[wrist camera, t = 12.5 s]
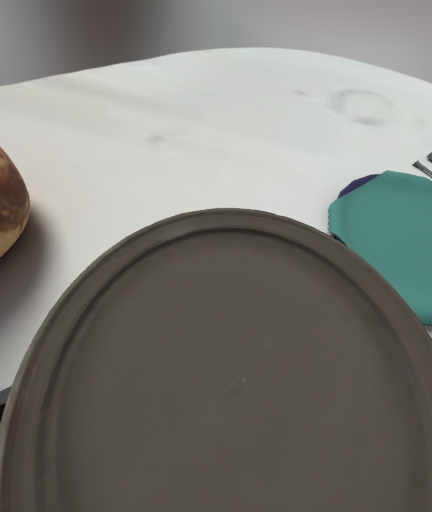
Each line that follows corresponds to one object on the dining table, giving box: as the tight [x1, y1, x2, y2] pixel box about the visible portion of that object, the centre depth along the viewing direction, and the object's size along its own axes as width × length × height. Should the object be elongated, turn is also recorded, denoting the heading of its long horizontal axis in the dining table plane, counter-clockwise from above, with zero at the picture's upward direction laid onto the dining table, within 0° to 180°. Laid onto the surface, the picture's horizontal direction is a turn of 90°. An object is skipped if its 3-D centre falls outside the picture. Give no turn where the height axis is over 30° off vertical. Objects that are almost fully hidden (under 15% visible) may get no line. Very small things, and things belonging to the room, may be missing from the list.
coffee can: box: [0, 208, 432, 512], centre depth 11 cm, size 10×10×14 cm
